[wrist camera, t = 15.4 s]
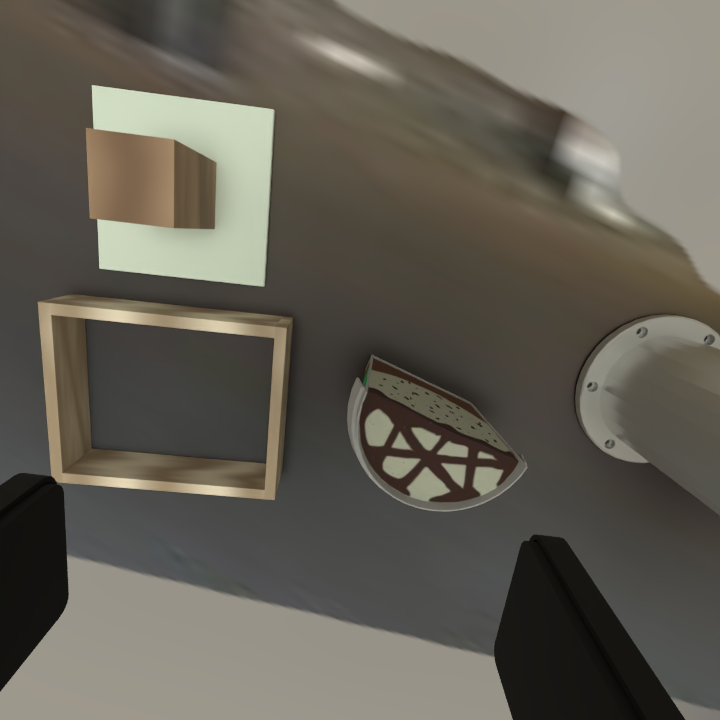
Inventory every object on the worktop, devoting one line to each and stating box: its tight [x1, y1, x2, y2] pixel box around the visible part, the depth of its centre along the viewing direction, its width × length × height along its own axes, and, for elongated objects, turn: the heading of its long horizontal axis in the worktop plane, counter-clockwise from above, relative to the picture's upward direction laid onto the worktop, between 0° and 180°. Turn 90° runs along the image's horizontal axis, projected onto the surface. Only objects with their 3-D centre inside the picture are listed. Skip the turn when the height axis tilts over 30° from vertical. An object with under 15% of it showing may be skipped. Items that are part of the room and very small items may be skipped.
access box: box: [38, 294, 293, 500], centre depth 34 cm, size 17×14×4 cm
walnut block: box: [86, 128, 217, 229], centre depth 28 cm, size 4×4×8 cm
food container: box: [347, 354, 528, 512], centre depth 33 cm, size 12×6×10 cm, turn 63°
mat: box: [92, 85, 275, 287], centre depth 32 cm, size 12×12×1 cm
